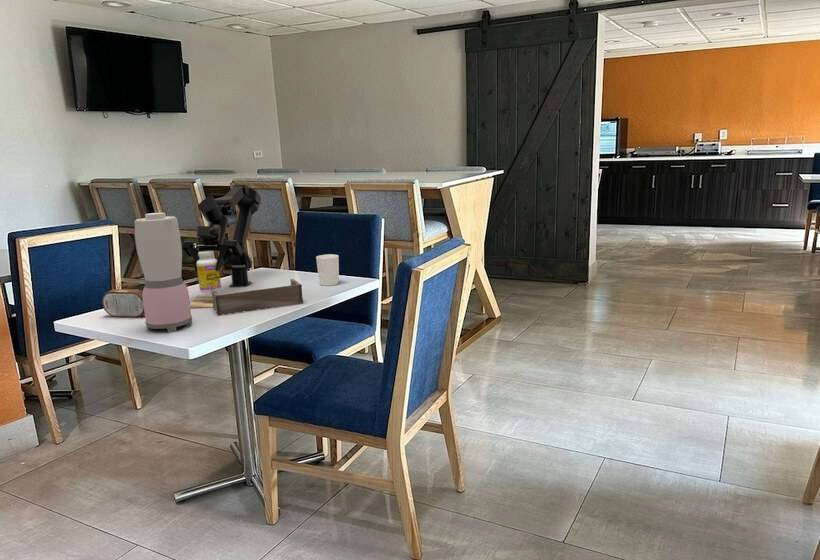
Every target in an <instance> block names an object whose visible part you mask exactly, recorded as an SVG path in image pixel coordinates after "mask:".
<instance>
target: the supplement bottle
mask: <svg viewBox="0 0 820 560" xmlns="http://www.w3.org/2000/svg"><path fill="white" fill-rule="evenodd" d="M214 252H215V251H201V252H198V255H199V257H200V260H198V261H197V263H196V264H197V271H196V272H197V279H198V287H199V292H201V293H204V294H207V293H209V294H210V293H211V294H212V292H211V289H215V290H216V292H219V291H221V290H222V283H221V275H220V269H219V270H218V271H216V264H217V260H218V258H217V259H216V258H215V257H214V255H215V253H214Z"/></svg>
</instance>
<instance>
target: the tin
mask: <svg viewBox="0 0 820 560" xmlns="http://www.w3.org/2000/svg"><path fill="white" fill-rule="evenodd" d="M142 294H143V290H140V289H136V288H135V289H133V288H132V289H131V288H128V289H127V288H112V289H111V290H109V291H107V292H106V293H105V294H104V295H103V296H102V298H101V302H102V307H103V310H104V312H106V314H108V315H109V316H110V317H114V318H140V317H142V316H145V312H144V305H143V297H142Z"/></svg>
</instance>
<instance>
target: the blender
mask: <svg viewBox="0 0 820 560" xmlns="http://www.w3.org/2000/svg"><path fill="white" fill-rule="evenodd" d="M133 235H134V242H135V249H136V255H137V258H138V259H139V263H140V267H141V270H142V273H143V276H144V281H145V283H144V286H143V290H142V291H143V294H142V297H143V305H144V312H145V315H144V317H145V326H146V328H147V329H154V330H156V329H157V330H158V329H159V330H161V329H163V330H165V329H167V332H168V333H172V332H173V331H174V332H176V331H177V327H181V326H185V325H187V327H191V326H192V325H193V315H192V310H191V309H190V302H191V301H190V293H189V289H188V287H187V285H186V283H185V282H184V279H183V277H182V270H183V269H182V268H183V264H182V263H183V250H182V247H181V245H182V240H181V232H180V227H179V221H178V218H177V217H176V216H173V215H172V216H169V215H168V216H166V213H165V212H151V213H145V215H144V217H143V218H137V219H135V220H134V229H133ZM174 332H173V333H174Z"/></svg>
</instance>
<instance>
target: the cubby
mask: <svg viewBox="0 0 820 560" xmlns="http://www.w3.org/2000/svg"><path fill="white" fill-rule="evenodd" d="M289 282H290V285H284V286H283V285H282V286H277V287H268V288H261V289H251V290H246V291H239V292H230V293H223V294H222V293H221V294H219V293H218V291H216V290H215V289H211V296H212V301H213V308H212V309H213V311H216V312H215V313H216V315H217V316H223V315H222V314H225V315H229V314H228V313H232V314H236V313H235V312H239V313H244V312H243V311H246V312H252V311H251V310H253V311H258V310H257V309H260V310H266V309H265V308H267V309H273V308H272V307H274V308H279V307H288V306H293V305H299V304H300V305H301V304H304V299H303V298H304V297H303V287H302V284H301V283H300V282H298V281H297V280H296V279H294V278H290V281H289Z"/></svg>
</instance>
